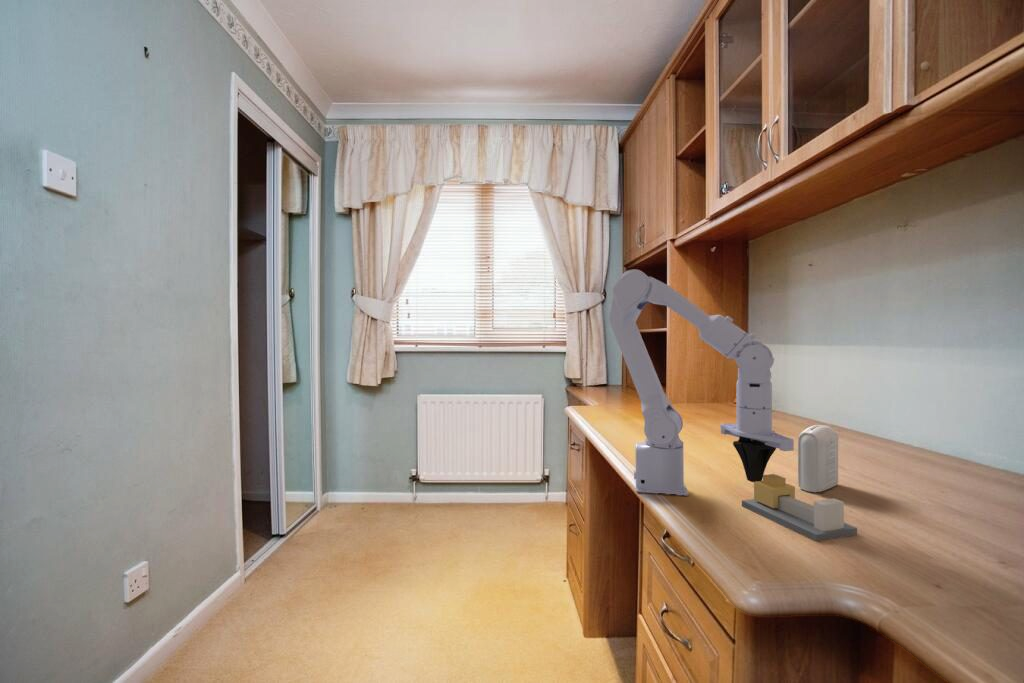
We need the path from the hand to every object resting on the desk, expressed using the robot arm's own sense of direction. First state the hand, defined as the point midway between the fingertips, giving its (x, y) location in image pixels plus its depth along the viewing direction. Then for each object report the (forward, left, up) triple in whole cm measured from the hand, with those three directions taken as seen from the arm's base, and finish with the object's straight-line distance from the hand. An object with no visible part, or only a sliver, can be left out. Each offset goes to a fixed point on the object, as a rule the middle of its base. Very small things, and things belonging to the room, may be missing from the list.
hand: (754, 480), depth 79 cm
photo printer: (+15, +11, -4) cm, 19 cm away
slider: (+2, -4, -2) cm, 5 cm away
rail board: (+4, -7, -4) cm, 9 cm away
